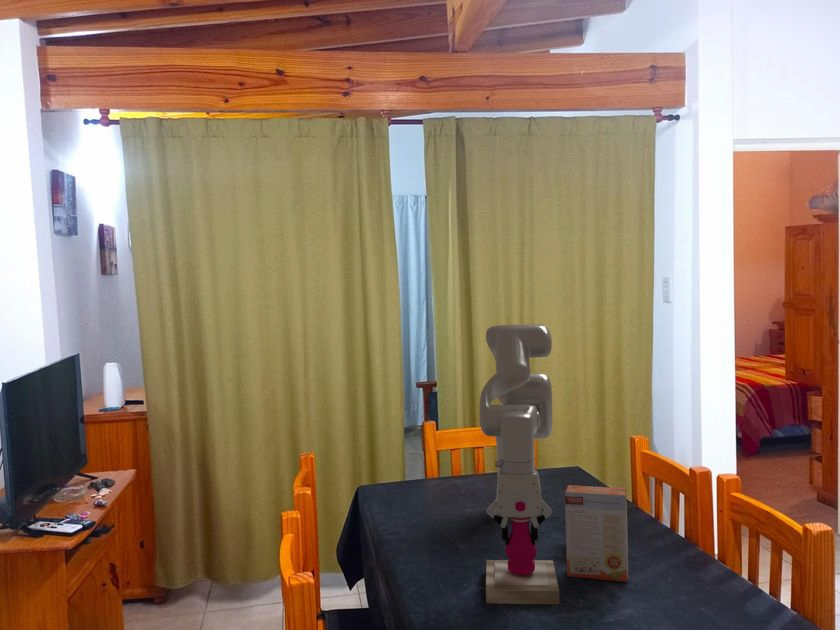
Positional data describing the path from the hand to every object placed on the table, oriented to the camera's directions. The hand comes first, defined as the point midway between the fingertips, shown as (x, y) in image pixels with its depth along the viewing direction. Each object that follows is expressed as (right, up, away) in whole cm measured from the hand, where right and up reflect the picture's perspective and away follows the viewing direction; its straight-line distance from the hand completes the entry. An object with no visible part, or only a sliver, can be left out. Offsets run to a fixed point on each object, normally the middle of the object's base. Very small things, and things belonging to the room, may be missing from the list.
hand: (519, 541), depth 165 cm
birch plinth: (0, -11, +1) cm, 11 cm away
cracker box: (+19, -10, +6) cm, 22 cm away
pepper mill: (0, -7, +1) cm, 7 cm away
